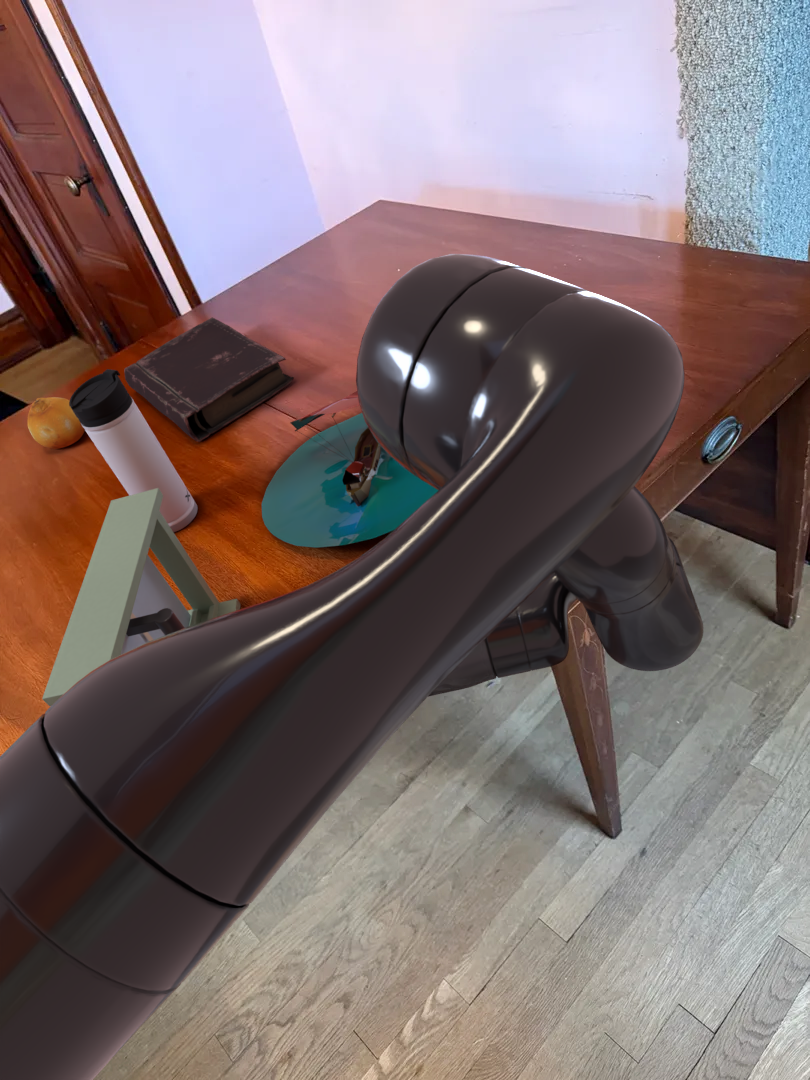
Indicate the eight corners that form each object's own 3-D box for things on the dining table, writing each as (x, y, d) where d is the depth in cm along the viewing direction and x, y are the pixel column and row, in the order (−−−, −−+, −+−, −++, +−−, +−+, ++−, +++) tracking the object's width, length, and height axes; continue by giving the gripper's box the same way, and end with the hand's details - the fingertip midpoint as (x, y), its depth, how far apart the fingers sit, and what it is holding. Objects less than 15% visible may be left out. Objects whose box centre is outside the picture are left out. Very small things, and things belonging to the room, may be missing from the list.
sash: (236, 681, 70) (167, 583, 61) (227, 756, 65) (149, 660, 55) (188, 692, 71) (112, 596, 62) (175, 767, 65) (89, 674, 56)
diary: (195, 446, 106) (179, 418, 103) (134, 395, 123) (118, 369, 120) (300, 380, 112) (288, 351, 109) (228, 340, 129) (216, 314, 126)
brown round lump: (27, 455, 113) (26, 405, 109) (28, 435, 119) (27, 387, 116) (86, 457, 116) (87, 408, 113) (84, 438, 123) (84, 391, 119)
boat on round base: (492, 393, 96) (469, 314, 90) (475, 537, 76) (443, 448, 69) (299, 435, 105) (265, 366, 99) (237, 573, 85) (188, 498, 78)
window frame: (240, 604, 80) (166, 485, 69) (216, 796, 64) (113, 682, 52) (185, 617, 81) (103, 502, 70) (147, 811, 64) (31, 701, 53)
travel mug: (209, 504, 95) (130, 370, 82) (175, 539, 92) (86, 405, 78) (177, 495, 98) (96, 366, 85) (142, 529, 95) (52, 399, 82)
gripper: (410, 553, 60) (210, 601, 62) (424, 687, 50) (187, 739, 53) (432, 613, 65) (246, 655, 67) (449, 745, 55) (230, 790, 58)
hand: (220, 692), depth 60 cm, fingers closed
